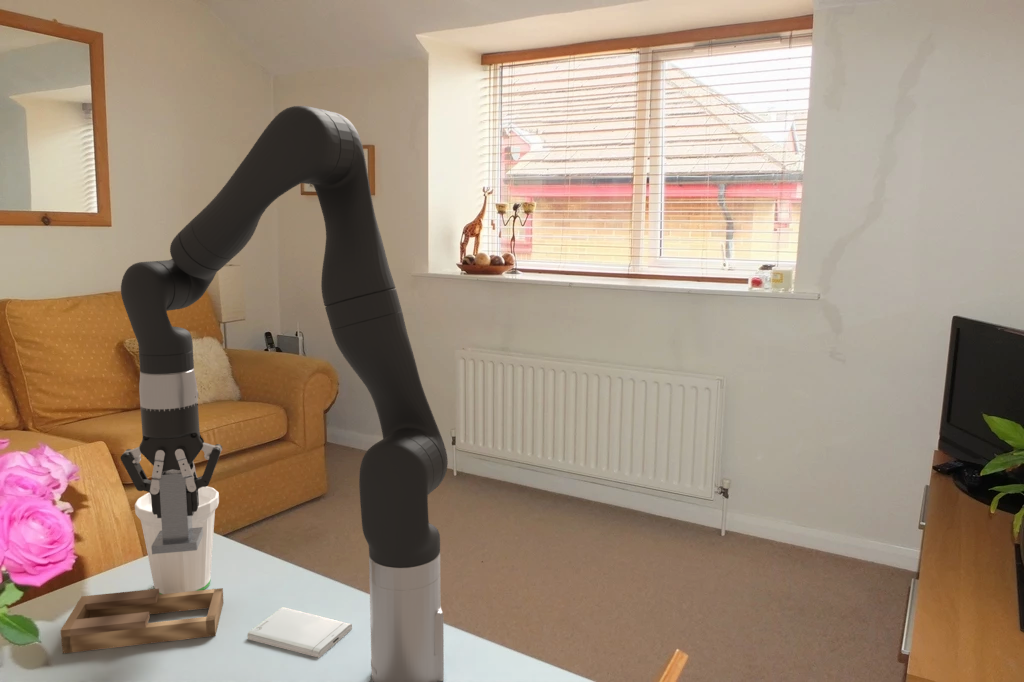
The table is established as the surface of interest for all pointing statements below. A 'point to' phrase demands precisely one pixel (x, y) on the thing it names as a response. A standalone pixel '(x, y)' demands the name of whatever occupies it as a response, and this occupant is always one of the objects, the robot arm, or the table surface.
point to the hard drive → (299, 632)
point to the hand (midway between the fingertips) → (176, 514)
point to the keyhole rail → (138, 619)
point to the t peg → (175, 517)
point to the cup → (186, 566)
